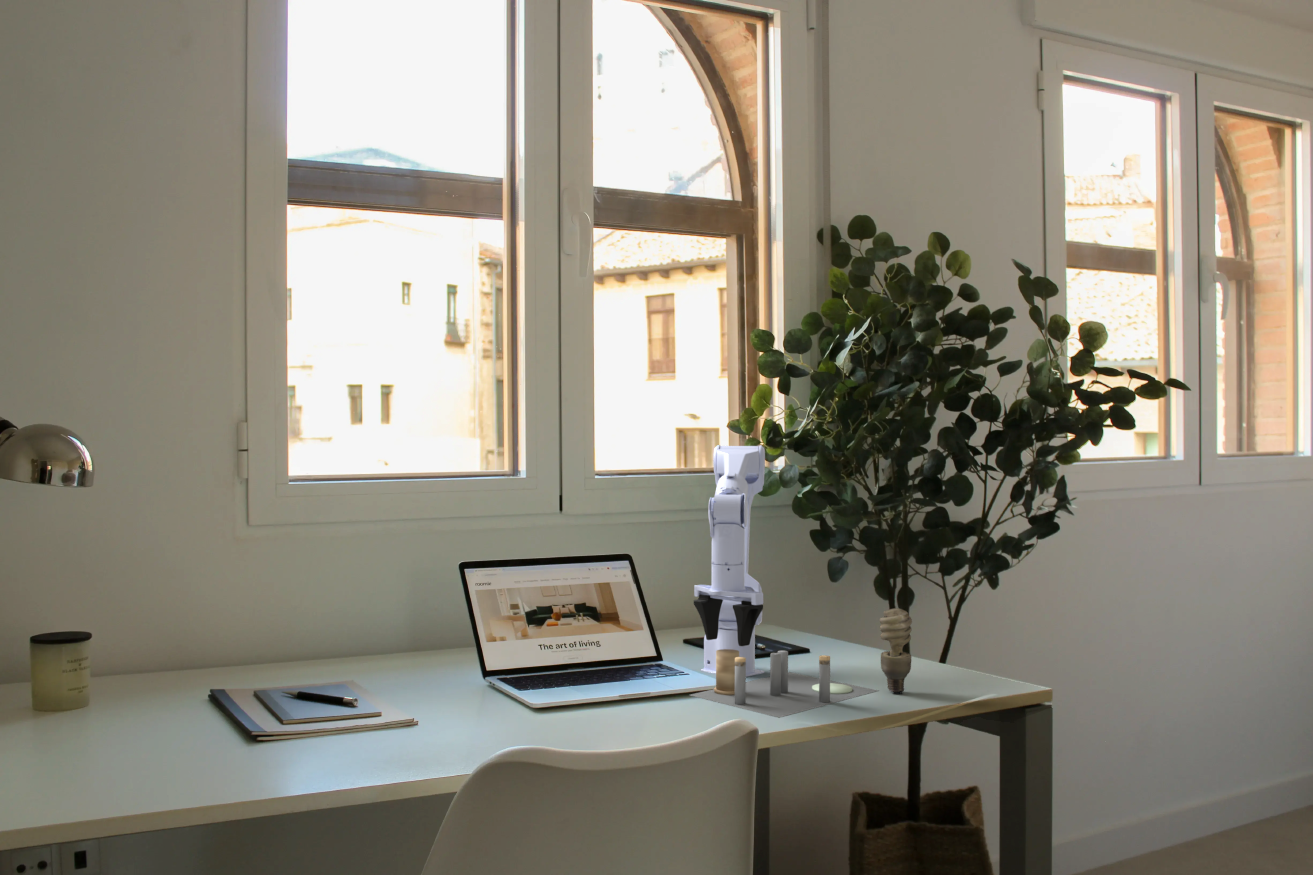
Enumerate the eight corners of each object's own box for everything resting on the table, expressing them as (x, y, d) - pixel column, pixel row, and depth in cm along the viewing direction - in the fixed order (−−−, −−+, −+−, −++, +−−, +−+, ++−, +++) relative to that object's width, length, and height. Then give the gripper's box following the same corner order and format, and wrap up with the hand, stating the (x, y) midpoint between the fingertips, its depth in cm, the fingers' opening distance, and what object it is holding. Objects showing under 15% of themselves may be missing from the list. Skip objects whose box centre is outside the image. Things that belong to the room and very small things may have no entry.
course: (688, 697, 176) (688, 650, 176) (789, 674, 194) (790, 632, 195) (779, 719, 161) (779, 669, 161) (879, 692, 180) (879, 647, 180)
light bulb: (912, 699, 175) (912, 611, 175) (879, 698, 176) (879, 610, 176) (911, 692, 180) (911, 606, 180) (879, 690, 181) (879, 605, 181)
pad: (803, 688, 181) (803, 687, 181) (828, 682, 185) (828, 681, 185) (836, 696, 176) (836, 694, 176) (860, 689, 180) (860, 687, 180)
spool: (708, 691, 178) (708, 651, 178) (726, 687, 181) (727, 647, 182) (728, 696, 175) (728, 654, 175) (746, 692, 178) (746, 651, 178)
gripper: (682, 561, 181) (681, 639, 181) (743, 568, 170) (743, 651, 170) (709, 559, 186) (709, 634, 186) (771, 565, 175) (771, 645, 175)
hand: (727, 642), depth 178 cm, fingers open, 7 cm apart
